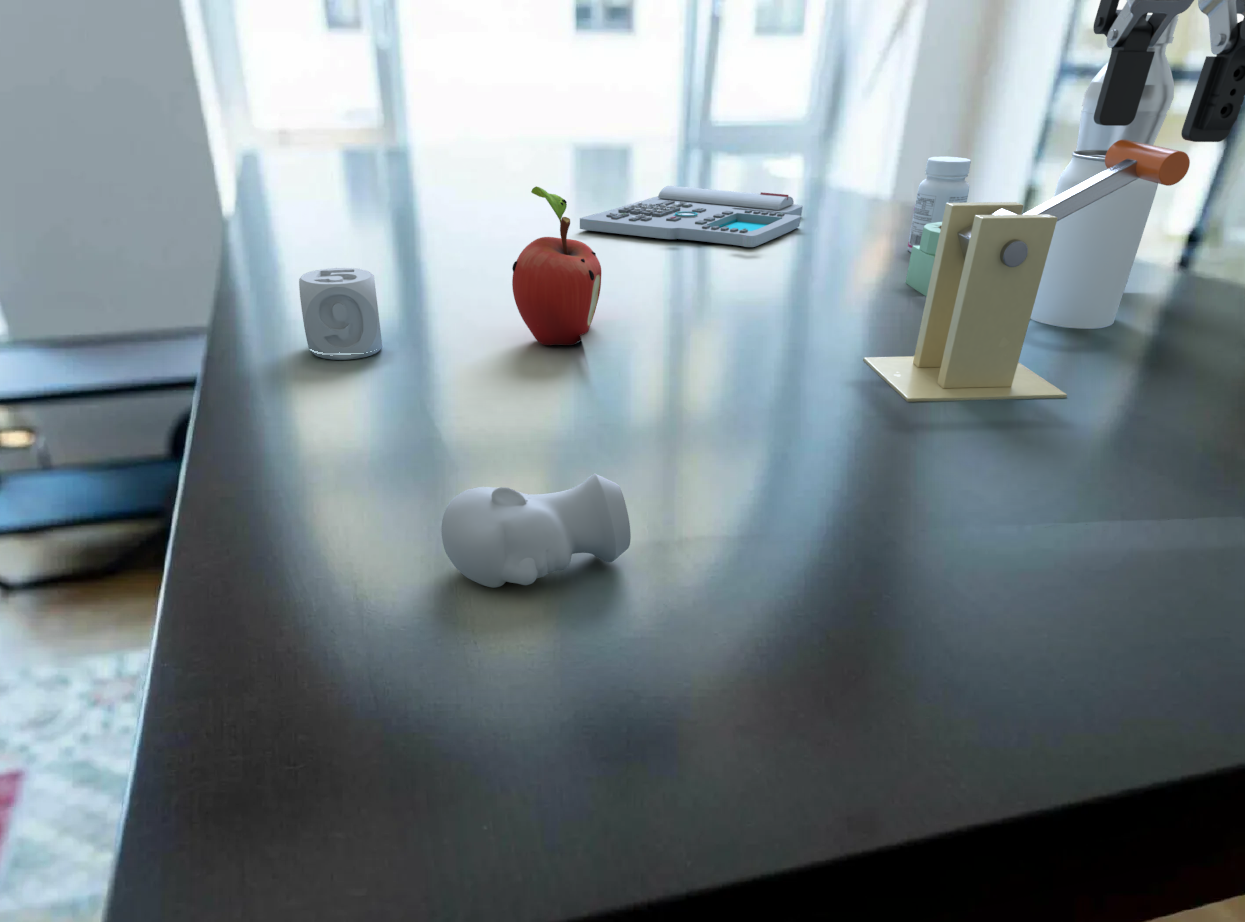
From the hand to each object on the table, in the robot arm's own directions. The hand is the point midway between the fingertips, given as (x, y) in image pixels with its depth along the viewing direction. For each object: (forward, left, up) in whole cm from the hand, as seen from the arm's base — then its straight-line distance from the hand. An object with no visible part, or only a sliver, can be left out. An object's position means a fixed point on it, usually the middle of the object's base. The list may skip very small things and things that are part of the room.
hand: (1153, 132), depth 52 cm
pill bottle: (-7, -41, -15) cm, 44 cm away
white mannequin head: (+36, +21, -15) cm, 44 cm away
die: (+48, -12, -15) cm, 52 cm away
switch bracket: (+8, 0, -15) cm, 17 cm away
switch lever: (+4, 0, -5) cm, 6 cm away
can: (-7, -13, -15) cm, 21 cm away
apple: (+33, -13, -15) cm, 38 cm away
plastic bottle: (-14, -26, -15) cm, 33 cm away
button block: (-4, -25, -15) cm, 29 cm away
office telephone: (+13, -57, -15) cm, 60 cm away
